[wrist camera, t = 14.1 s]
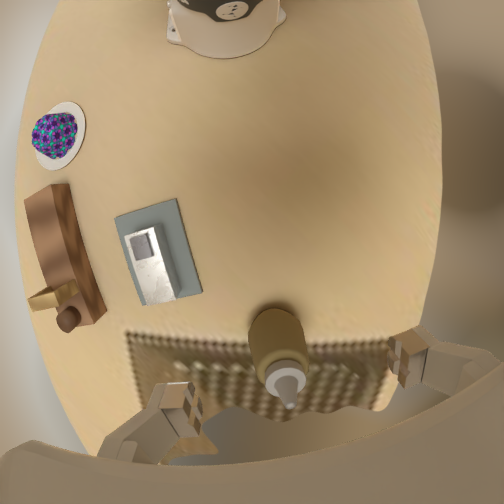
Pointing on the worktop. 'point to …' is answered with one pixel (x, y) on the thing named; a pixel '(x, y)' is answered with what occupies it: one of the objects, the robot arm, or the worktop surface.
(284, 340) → the squeeze bottle
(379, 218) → the worktop surface
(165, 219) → the rubber mat
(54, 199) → the brown stand
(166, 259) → the lever cap
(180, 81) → the worktop surface
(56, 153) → the pudding
